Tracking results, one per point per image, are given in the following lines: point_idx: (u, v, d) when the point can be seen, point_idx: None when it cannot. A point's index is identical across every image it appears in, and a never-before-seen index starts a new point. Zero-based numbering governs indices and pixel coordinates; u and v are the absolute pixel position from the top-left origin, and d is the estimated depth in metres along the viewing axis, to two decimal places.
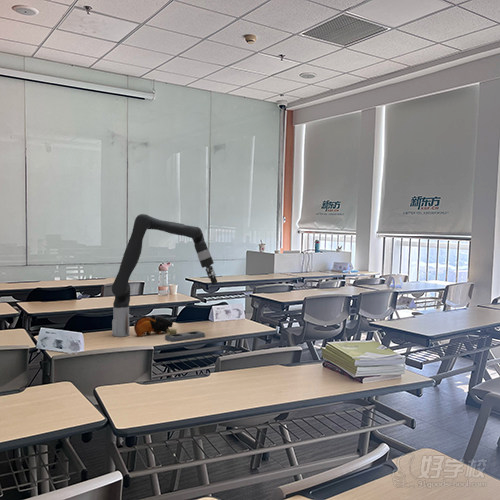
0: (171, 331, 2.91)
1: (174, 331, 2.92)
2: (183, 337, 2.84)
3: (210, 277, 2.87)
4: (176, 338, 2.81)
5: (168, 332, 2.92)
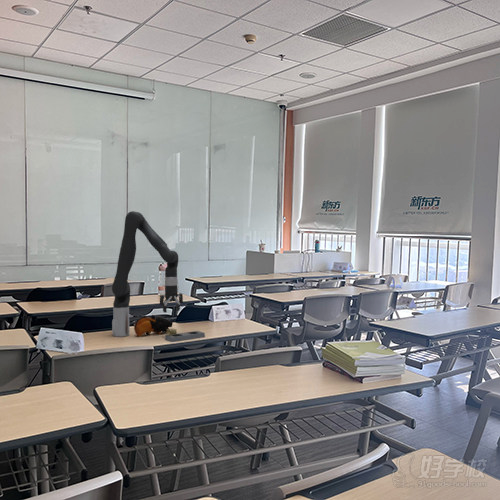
0: (171, 331, 2.91)
1: (174, 331, 2.92)
2: (183, 337, 2.84)
3: (160, 304, 2.89)
4: (176, 338, 2.81)
5: (168, 332, 2.92)
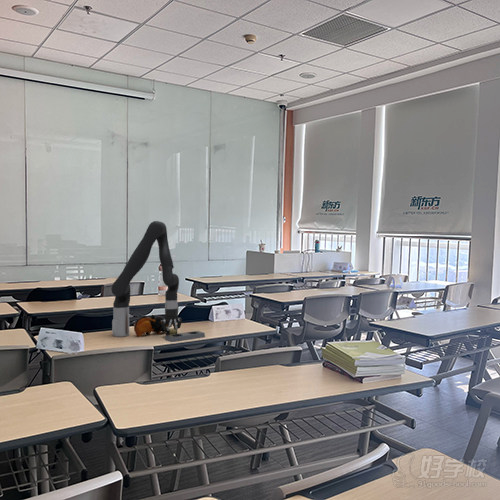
0: (171, 331, 2.91)
1: (174, 331, 2.92)
2: (183, 337, 2.84)
3: (163, 329, 2.91)
4: (176, 338, 2.81)
5: None
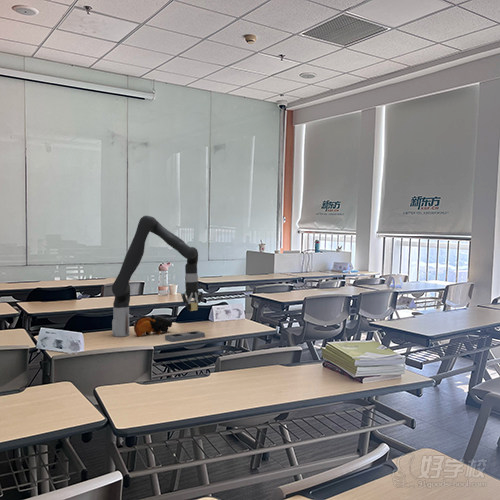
0: (192, 304, 2.89)
1: (195, 304, 2.91)
2: (183, 337, 2.84)
3: (184, 302, 2.89)
4: (176, 338, 2.81)
5: None
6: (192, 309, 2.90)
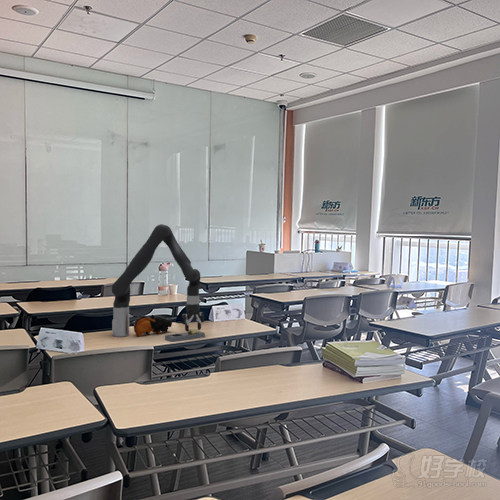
0: (193, 331, 2.90)
1: (196, 331, 2.91)
2: (183, 337, 2.84)
3: (182, 323, 2.88)
4: (176, 338, 2.81)
5: (190, 332, 2.91)
6: None
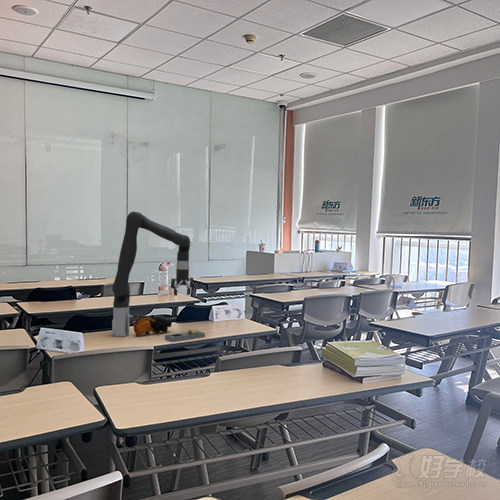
0: (193, 331, 2.90)
1: (196, 331, 2.91)
2: (183, 337, 2.84)
3: (171, 287, 2.92)
4: (176, 338, 2.81)
5: (190, 332, 2.91)
6: None
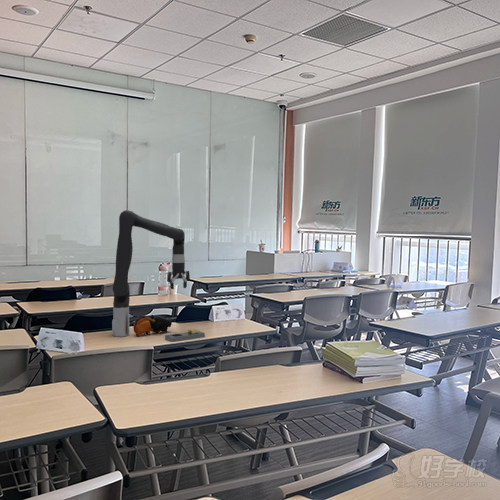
0: (193, 331, 2.90)
1: (196, 331, 2.91)
2: (183, 337, 2.84)
3: (168, 281, 2.94)
4: (176, 338, 2.81)
5: (190, 332, 2.91)
6: None
